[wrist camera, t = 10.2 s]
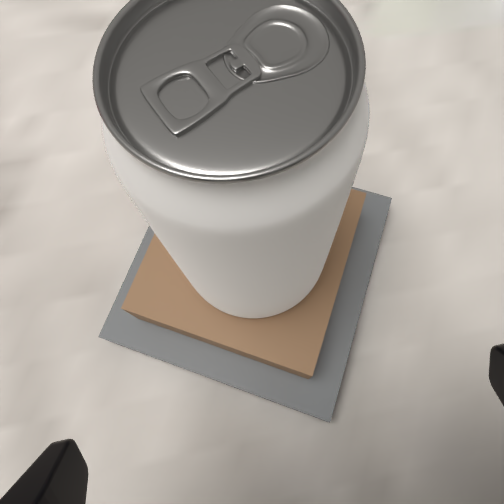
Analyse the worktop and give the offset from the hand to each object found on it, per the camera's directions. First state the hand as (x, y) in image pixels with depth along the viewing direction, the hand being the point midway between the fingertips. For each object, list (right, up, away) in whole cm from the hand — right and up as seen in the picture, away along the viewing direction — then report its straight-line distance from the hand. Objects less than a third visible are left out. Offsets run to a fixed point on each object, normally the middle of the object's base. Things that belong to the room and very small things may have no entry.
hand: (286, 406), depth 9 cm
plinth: (-1, +2, +15) cm, 15 cm away
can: (-1, +3, +11) cm, 12 cm away
